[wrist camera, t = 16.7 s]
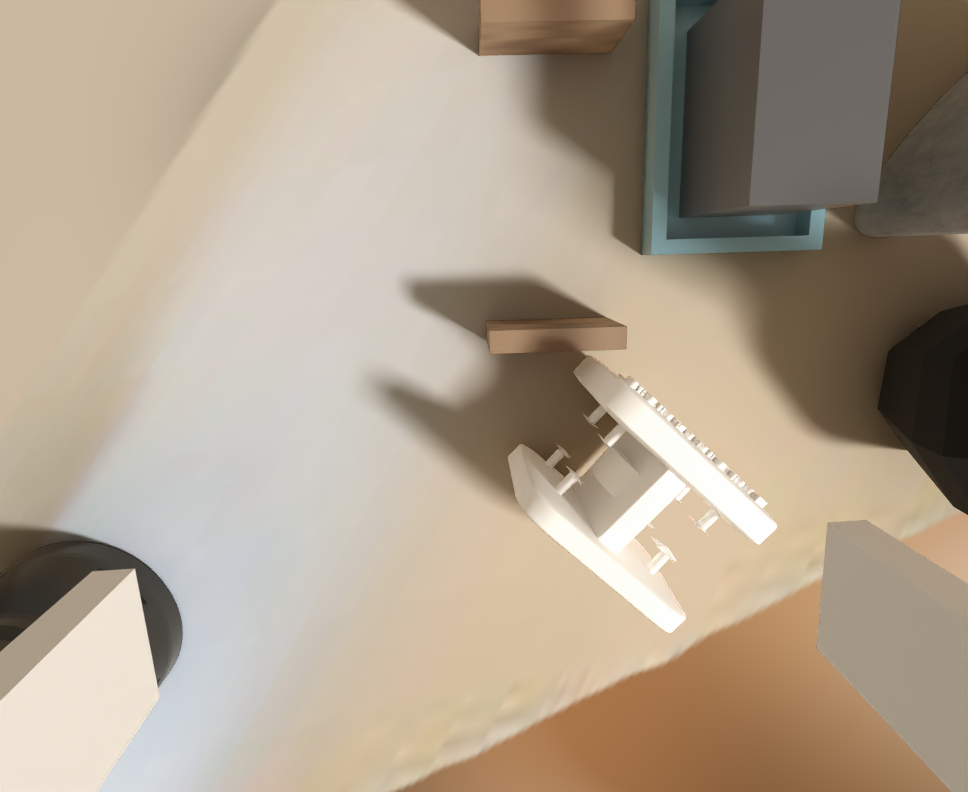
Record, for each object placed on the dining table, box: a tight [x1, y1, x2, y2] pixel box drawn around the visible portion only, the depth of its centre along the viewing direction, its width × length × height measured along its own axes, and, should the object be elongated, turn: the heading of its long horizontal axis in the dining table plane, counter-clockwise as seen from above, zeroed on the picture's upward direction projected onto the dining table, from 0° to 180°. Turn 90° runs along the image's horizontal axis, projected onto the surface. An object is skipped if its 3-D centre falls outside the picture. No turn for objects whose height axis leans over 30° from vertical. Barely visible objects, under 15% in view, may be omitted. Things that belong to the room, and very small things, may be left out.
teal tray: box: [641, 0, 826, 255], centre depth 41 cm, size 12×17×2 cm
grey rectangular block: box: [679, 0, 901, 218], centre depth 36 cm, size 7×12×11 cm, turn 2°
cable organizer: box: [508, 356, 777, 632], centre depth 42 cm, size 15×11×12 cm
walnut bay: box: [478, 0, 636, 354], centre depth 40 cm, size 9×21×6 cm, turn 2°
